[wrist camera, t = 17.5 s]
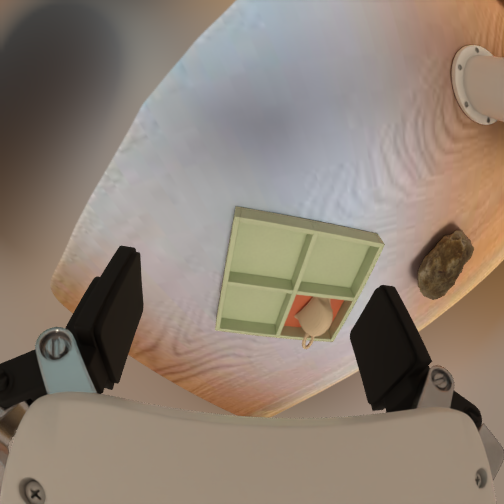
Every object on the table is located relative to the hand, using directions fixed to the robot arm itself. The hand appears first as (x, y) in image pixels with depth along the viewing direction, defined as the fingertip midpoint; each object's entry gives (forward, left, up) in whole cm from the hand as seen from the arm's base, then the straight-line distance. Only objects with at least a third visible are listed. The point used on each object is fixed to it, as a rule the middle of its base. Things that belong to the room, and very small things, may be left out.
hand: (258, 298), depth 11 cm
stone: (-35, +10, -26) cm, 45 cm away
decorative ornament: (-15, +24, -26) cm, 38 cm away
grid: (-10, +19, -26) cm, 34 cm away
